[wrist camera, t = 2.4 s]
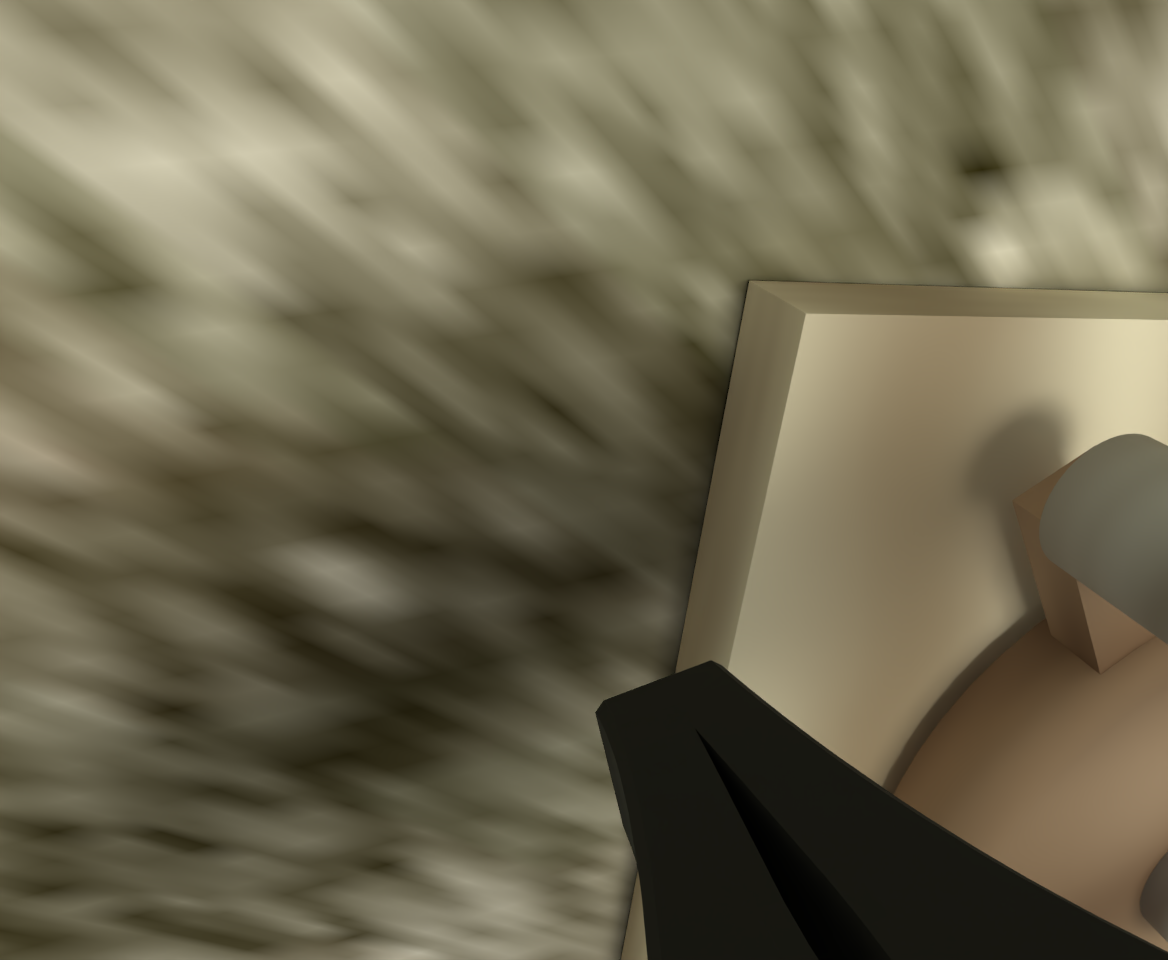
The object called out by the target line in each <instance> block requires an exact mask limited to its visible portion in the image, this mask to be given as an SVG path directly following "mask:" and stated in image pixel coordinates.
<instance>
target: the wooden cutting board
mask: <svg viewBox="0 0 1168 960" xmlns="http://www.w3.org/2000/svg"><path fill="white" fill-rule="evenodd" d="M1134 433H1135V434H1143V435H1146V436H1149V437H1151V438H1153V439H1155V440H1157V441H1159V442H1161V443H1163V444H1165V445H1167V446H1168V293H1146V292H1113V291H1080V290H1047V289H1014V288H981V287H948V286H915V285H882V284H849V283H816V282H783V281H750V280H749V285H748V290H747V296H746V301H745V306H744V312H743V317H742V322H741V327H740V333H739V338H738V343H737V349H736V354H735V359H734V364H733V370H732V375H731V380H730V386H729V391H728V396H727V401H726V407H725V412H724V417H723V423H722V428H721V433H720V438H719V444H718V449H717V454H716V460H715V465H714V470H713V475H712V481H711V486H710V491H709V497H708V502H707V507H706V512H705V518H704V523H703V528H702V534H701V539H700V544H699V549H698V555H697V560H696V565H695V571H694V576H693V581H692V586H691V592H690V597H689V602H688V608H687V613H686V618H685V623H684V629H683V634H682V639H681V645H680V650H679V655H678V660H677V666H676V671H675V673H678V672H681V671H683V670H686V669H689V668H691V667H694V666H697V665H699V664H702V663H705V662H707V661H710V660H712V661H714V662H716V663H718V664H721V665H722V666H723V667H725V668H726V669H727V670H728V671H729V672H730V673H732V674H733V675H734V676H735V677H736V678H738V679H739V680H740V681H741V682H742V683H744V684H745V685H746V686H747V687H748V688H750V689H751V690H752V691H753V692H755V693H756V694H757V695H758V696H760V697H761V698H762V699H763V700H765V701H766V702H767V703H768V704H770V705H771V706H772V707H773V708H775V709H776V710H777V711H778V712H780V713H781V714H782V715H784V716H785V717H786V718H787V719H789V720H790V721H791V722H793V723H794V724H795V725H797V726H798V727H799V728H801V729H802V730H803V731H805V732H806V733H807V734H809V735H810V736H811V737H812V738H814V739H815V740H817V741H818V742H819V743H821V744H822V745H823V746H825V747H826V748H827V749H829V750H830V751H832V752H833V753H834V754H836V755H837V756H838V757H840V758H841V759H843V760H844V761H846V762H847V763H848V764H850V765H851V766H853V767H854V768H856V769H857V770H859V771H860V772H861V773H863V774H864V775H866V776H867V777H869V778H870V779H871V780H873V781H874V782H876V783H877V784H879V785H880V786H882V787H883V788H884V789H886V790H887V791H889V792H890V793H892V794H893V795H894V793H895V791H896V788H897V786H898V784H899V783H900V781H901V779H902V778H903V776H904V774H905V772H906V771H907V769H908V767H909V766H910V764H911V762H912V761H913V759H914V757H915V755H916V754H917V752H918V751H919V749H920V748H921V747H922V745H923V744H924V742H925V741H926V740H927V738H928V737H929V735H930V734H931V733H932V731H933V730H934V729H935V727H936V726H937V724H938V723H939V722H940V720H941V719H942V718H943V717H944V715H945V714H946V713H947V712H948V711H949V710H950V708H951V707H952V706H953V705H954V704H955V703H956V701H957V700H958V699H959V698H960V697H961V696H962V694H963V693H964V692H965V691H966V690H967V689H968V687H969V686H970V685H971V684H972V683H973V682H974V681H975V680H976V679H977V678H978V677H979V676H980V675H981V674H982V673H983V672H984V671H985V670H986V669H987V668H988V667H989V666H990V665H991V664H992V663H993V662H994V661H995V660H996V659H997V658H998V657H999V656H1000V655H1001V654H1003V653H1004V652H1005V651H1006V650H1007V649H1008V648H1010V647H1011V646H1012V645H1013V644H1014V643H1016V642H1017V641H1018V640H1019V639H1020V638H1021V637H1023V636H1024V635H1025V634H1026V633H1027V632H1028V631H1030V630H1031V629H1032V628H1033V627H1034V626H1036V625H1037V624H1038V623H1040V622H1041V621H1042V620H1044V619H1045V618H1046V616H1045V612H1044V609H1043V606H1042V602H1041V599H1040V595H1039V592H1038V588H1037V585H1036V581H1035V578H1034V575H1033V571H1032V568H1031V564H1030V561H1029V557H1028V554H1027V551H1026V547H1025V544H1024V540H1023V537H1022V533H1021V530H1020V526H1019V523H1018V520H1017V516H1016V513H1015V509H1014V506H1013V502H1012V500H1013V499H1015V498H1016V497H1018V496H1019V495H1021V494H1022V493H1024V492H1025V491H1027V490H1028V489H1030V488H1031V487H1033V486H1035V485H1036V484H1038V483H1039V482H1041V481H1042V480H1044V479H1045V478H1047V477H1048V476H1050V475H1051V474H1053V473H1054V472H1056V471H1057V470H1059V469H1060V468H1062V467H1063V466H1065V465H1066V464H1068V463H1069V462H1071V461H1072V460H1074V459H1076V458H1077V457H1079V456H1080V455H1082V454H1083V453H1085V452H1086V451H1088V450H1089V449H1091V448H1092V447H1094V446H1096V445H1098V444H1099V443H1101V442H1103V441H1106V440H1108V439H1110V438H1113V437H1116V436H1119V435H1124V434H1134ZM621 960H648V959H647V948H646V937H645V927H644V916H643V905H642V896H641V888H640V880H639V874H638V872H637V877H636V882H635V888H634V893H633V898H632V904H631V909H630V914H629V919H628V925H627V930H626V935H625V941H624V946H623V951H622V956H621Z"/></svg>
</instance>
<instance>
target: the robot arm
mask: <svg viewBox="0 0 1168 960" xmlns="http://www.w3.org/2000/svg"><path fill="white" fill-rule="evenodd" d="M595 713H596V717H597V721H598V725H599V729H600V733H601V737H602V741H603V745H604V749H605V754H606V758H607V762H608V766H609V770H610V774H611V778H612V782H613V786H614V790H615V794H616V798H617V802H618V806H619V810H620V814H621V819H622V823H623V826H624V829H625V832H626V834H627V837H628V839H629V842H630V845H631V847H632V850H633V853H634V856H635V859H636V862H637V868H638V874H639V880H640V888H641V896H642V905H643V916H644V927H645V937H646V948H647V959H648V960H1168V952H1167V951H1165V950H1163V949H1161V948H1159V947H1157V946H1155V945H1154V944H1152V943H1150V942H1148V941H1146V940H1144V939H1142V938H1140V937H1138V936H1136V935H1134V934H1132V933H1130V932H1128V931H1126V930H1124V929H1122V928H1120V927H1118V926H1116V925H1114V924H1112V923H1110V922H1108V921H1106V920H1104V919H1102V918H1100V917H1098V916H1096V915H1095V914H1093V913H1091V912H1089V911H1087V910H1085V909H1084V908H1082V907H1080V906H1078V905H1076V904H1074V903H1072V902H1071V901H1069V900H1067V899H1065V898H1063V897H1061V896H1060V895H1058V894H1056V893H1054V892H1052V891H1050V890H1049V889H1047V888H1045V887H1043V886H1041V885H1039V884H1038V883H1036V882H1034V881H1032V880H1031V879H1029V878H1027V877H1025V876H1024V875H1022V874H1020V873H1018V872H1017V871H1015V870H1013V869H1011V868H1010V867H1008V866H1006V865H1005V864H1003V863H1001V862H999V861H998V860H996V859H994V858H993V857H991V856H989V855H988V854H986V853H984V852H983V851H981V850H979V849H978V848H976V847H974V846H973V845H971V844H970V843H968V842H966V841H965V840H963V839H962V838H960V837H958V836H957V835H955V834H954V833H952V832H950V831H949V830H947V829H946V828H944V827H942V826H941V825H939V824H938V823H936V822H934V821H933V820H931V819H930V818H928V817H926V816H925V815H923V814H922V813H920V812H919V811H917V810H916V809H914V808H913V807H911V806H910V805H908V804H907V803H905V802H904V801H902V800H901V799H899V798H898V797H896V796H894V795H893V794H892V793H890V792H889V791H887V790H886V789H884V788H883V787H882V786H880V785H879V784H877V783H876V782H874V781H873V780H871V779H870V778H869V777H867V776H866V775H864V774H863V773H861V772H860V771H859V770H857V769H856V768H854V767H853V766H851V765H850V764H848V763H847V762H846V761H844V760H843V759H841V758H840V757H838V756H837V755H836V754H834V753H833V752H832V751H830V750H829V749H827V748H826V747H825V746H823V745H822V744H821V743H819V742H818V741H817V740H815V739H814V738H812V737H811V736H810V735H809V734H807V733H806V732H805V731H803V730H802V729H801V728H799V727H798V726H797V725H795V724H794V723H793V722H791V721H790V720H789V719H787V718H786V717H785V716H784V715H782V714H781V713H780V712H778V711H777V710H776V709H775V708H773V707H772V706H771V705H770V704H768V703H767V702H766V701H765V700H763V699H762V698H761V697H760V696H758V695H757V694H756V693H755V692H753V691H752V690H751V689H750V688H748V687H747V686H746V685H745V684H744V683H742V682H741V681H740V680H739V679H738V678H736V677H735V676H734V675H733V674H732V673H730V672H729V671H728V670H727V669H726V668H725V667H723V666H722V665H721V664H718V663H716V662H714V661H712V660H710V661H707V662H705V663H702V664H699V665H697V666H694V667H691V668H689V669H686V670H683V671H681V672H678V673H675V674H673V675H670V676H667V677H665V678H662V679H659V680H657V681H654V682H652V683H649V684H646V685H644V686H641V687H638V688H636V689H633V690H630V691H628V692H625V693H622V694H620V695H617V696H614V697H612V698H609V699H607V700H604V701H603V702H602V704H601V705H600V707H599V708H598V709H597V711H596V712H595Z"/></svg>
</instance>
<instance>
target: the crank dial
mask: <svg viewBox="0 0 1168 960" xmlns="http://www.w3.org/2000/svg"><path fill="white" fill-rule="evenodd" d="M1012 502H1013V506H1014V509H1015V513H1016V516H1017V520H1018V523H1019V526H1020V530H1021V533H1022V537H1023V540H1024V544H1025V547H1026V551H1027V554H1028V557H1029V561H1030V564H1031V568H1032V571H1033V575H1034V578H1035V581H1036V585H1037V588H1038V592H1039V595H1040V599H1041V602H1042V606H1043V609H1044V612H1045V616H1046V618H1045V619H1044V620H1042V621H1041V622H1040V623H1038V624H1037V625H1036V626H1034V627H1033V628H1032V629H1031V630H1030V631H1028V632H1027V633H1026V634H1025V635H1024V636H1023V637H1021V638H1020V639H1019V640H1018V641H1017V642H1016V643H1014V644H1013V645H1012V646H1011V647H1010V648H1008V649H1007V650H1006V651H1005V652H1004V653H1003V654H1001V655H1000V656H999V657H998V658H997V659H996V660H995V661H994V662H993V663H992V664H991V665H990V666H989V667H988V668H987V669H986V670H985V671H984V672H983V673H982V674H981V675H980V676H979V677H978V678H977V679H976V680H975V681H974V682H973V683H972V684H971V685H970V686H969V687H968V689H967V690H966V691H965V692H964V693H963V694H962V696H961V697H960V698H959V699H958V700H957V701H956V703H955V704H954V705H953V706H952V707H951V708H950V710H949V711H948V712H947V713H946V714H945V715H944V717H943V718H942V719H941V720H940V722H939V723H938V724H937V726H936V727H935V729H934V730H933V731H932V733H931V734H930V735H929V737H928V738H927V740H926V741H925V742H924V744H923V745H922V747H921V748H920V749H919V751H918V752H917V754H916V755H915V757H914V759H913V761H912V762H911V764H910V766H909V767H908V769H907V771H906V772H905V774H904V776H903V778H902V779H901V781H900V783H899V784H898V786H897V788H896V791H895V793H894V796H896V797H898V798H899V799H901V800H902V801H904V802H905V803H907V804H908V805H910V806H911V807H913V808H914V809H916V810H917V811H919V812H920V813H922V814H923V815H925V816H926V817H928V818H930V819H931V820H933V821H934V822H936V823H938V824H939V825H941V826H942V827H944V828H946V829H947V830H949V831H950V832H952V833H954V834H955V835H957V836H958V837H960V838H962V839H963V840H965V841H966V842H968V843H970V844H971V845H973V846H974V847H976V848H978V849H979V850H981V851H983V852H984V853H986V854H988V855H989V856H991V857H993V858H994V859H996V860H998V861H999V862H1001V863H1003V864H1005V865H1006V866H1008V867H1010V868H1011V869H1013V870H1015V871H1017V872H1018V873H1020V874H1022V875H1024V876H1025V877H1027V878H1029V879H1031V880H1032V881H1034V882H1036V883H1038V884H1039V885H1041V886H1043V887H1045V888H1047V889H1049V890H1050V891H1052V892H1054V893H1056V894H1058V895H1060V896H1061V897H1063V898H1065V899H1067V900H1069V901H1071V902H1072V903H1074V904H1076V905H1078V906H1080V907H1082V908H1084V909H1085V910H1087V911H1089V912H1091V913H1093V914H1095V915H1096V916H1098V917H1100V918H1102V919H1104V920H1106V921H1108V922H1110V923H1112V924H1114V925H1116V926H1118V927H1120V928H1122V929H1124V930H1126V931H1128V932H1130V933H1132V934H1134V935H1136V936H1138V937H1140V938H1142V939H1144V940H1146V941H1148V942H1150V943H1152V944H1154V945H1155V946H1157V947H1159V948H1161V949H1163V950H1165V951H1167V952H1168V446H1167V445H1165V444H1163V443H1161V442H1159V441H1157V440H1155V439H1153V438H1151V437H1149V436H1146V435H1143V434H1135V433H1134V434H1124V435H1119V436H1116V437H1113V438H1110V439H1108V440H1106V441H1103V442H1101V443H1099V444H1098V445H1096V446H1094V447H1092V448H1091V449H1089V450H1088V451H1086V452H1085V453H1083V454H1082V455H1080V456H1079V457H1077V458H1076V459H1074V460H1072V461H1071V462H1069V463H1068V464H1066V465H1065V466H1063V467H1062V468H1060V469H1059V470H1057V471H1056V472H1054V473H1053V474H1051V475H1050V476H1048V477H1047V478H1045V479H1044V480H1042V481H1041V482H1039V483H1038V484H1036V485H1035V486H1033V487H1031V488H1030V489H1028V490H1027V491H1025V492H1024V493H1022V494H1021V495H1019V496H1018V497H1016V498H1015V499H1013V500H1012Z"/></svg>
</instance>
